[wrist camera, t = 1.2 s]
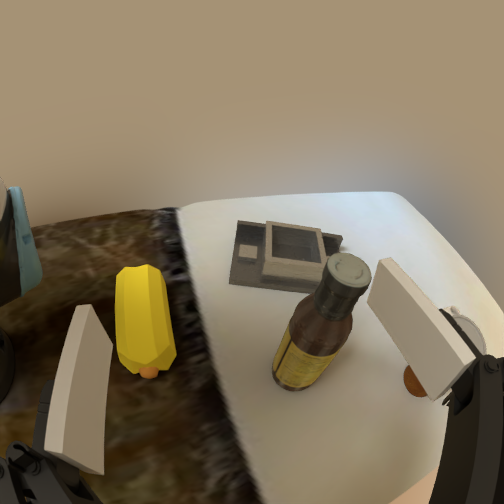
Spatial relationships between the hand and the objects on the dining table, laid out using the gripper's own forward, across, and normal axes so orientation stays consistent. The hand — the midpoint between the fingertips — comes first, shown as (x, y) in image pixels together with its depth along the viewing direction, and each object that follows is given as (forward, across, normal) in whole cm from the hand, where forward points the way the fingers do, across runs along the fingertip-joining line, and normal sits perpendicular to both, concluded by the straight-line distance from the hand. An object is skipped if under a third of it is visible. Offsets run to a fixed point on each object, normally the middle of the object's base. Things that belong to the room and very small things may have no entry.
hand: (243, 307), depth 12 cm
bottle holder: (+29, +13, -21) cm, 38 cm away
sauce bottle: (+10, +7, -24) cm, 27 cm away
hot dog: (+19, -12, -20) cm, 30 cm away
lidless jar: (+12, +42, -28) cm, 52 cm away
